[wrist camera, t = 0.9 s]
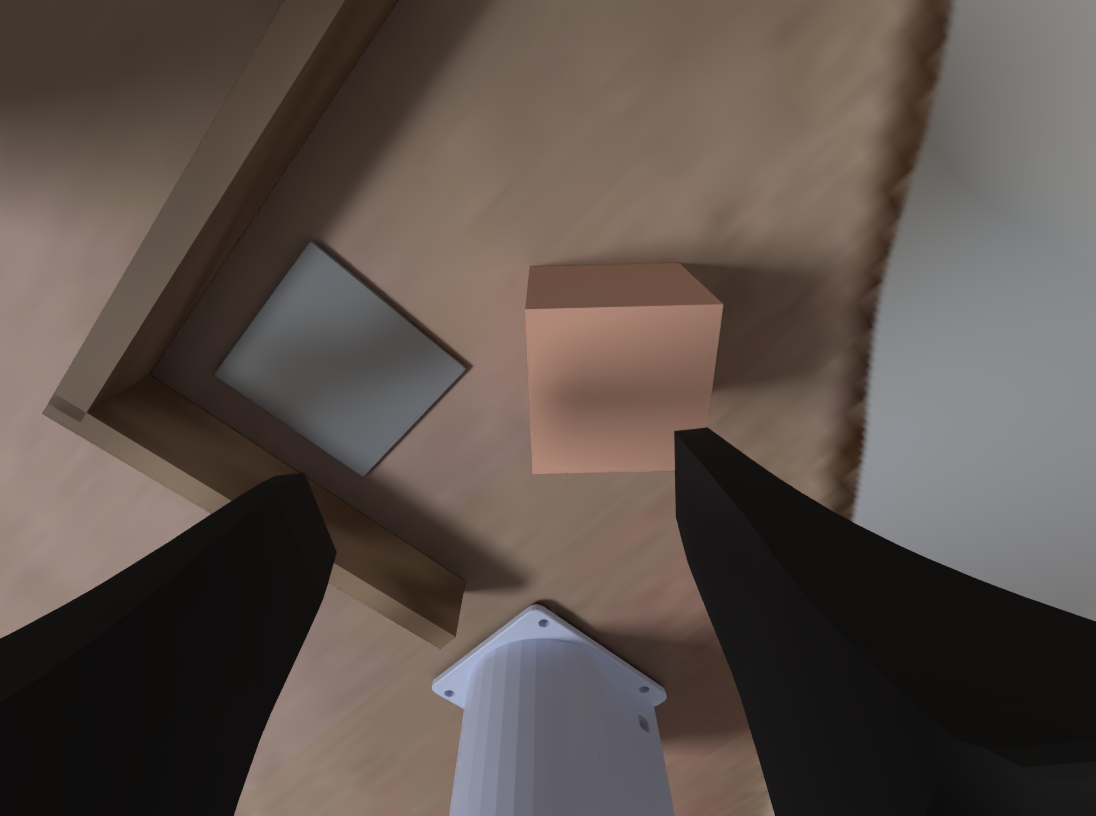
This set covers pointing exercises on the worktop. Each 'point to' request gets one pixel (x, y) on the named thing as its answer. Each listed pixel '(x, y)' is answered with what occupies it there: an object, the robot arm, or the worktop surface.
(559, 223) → the worktop surface
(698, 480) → the robot arm
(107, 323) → the arena
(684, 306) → the cube
